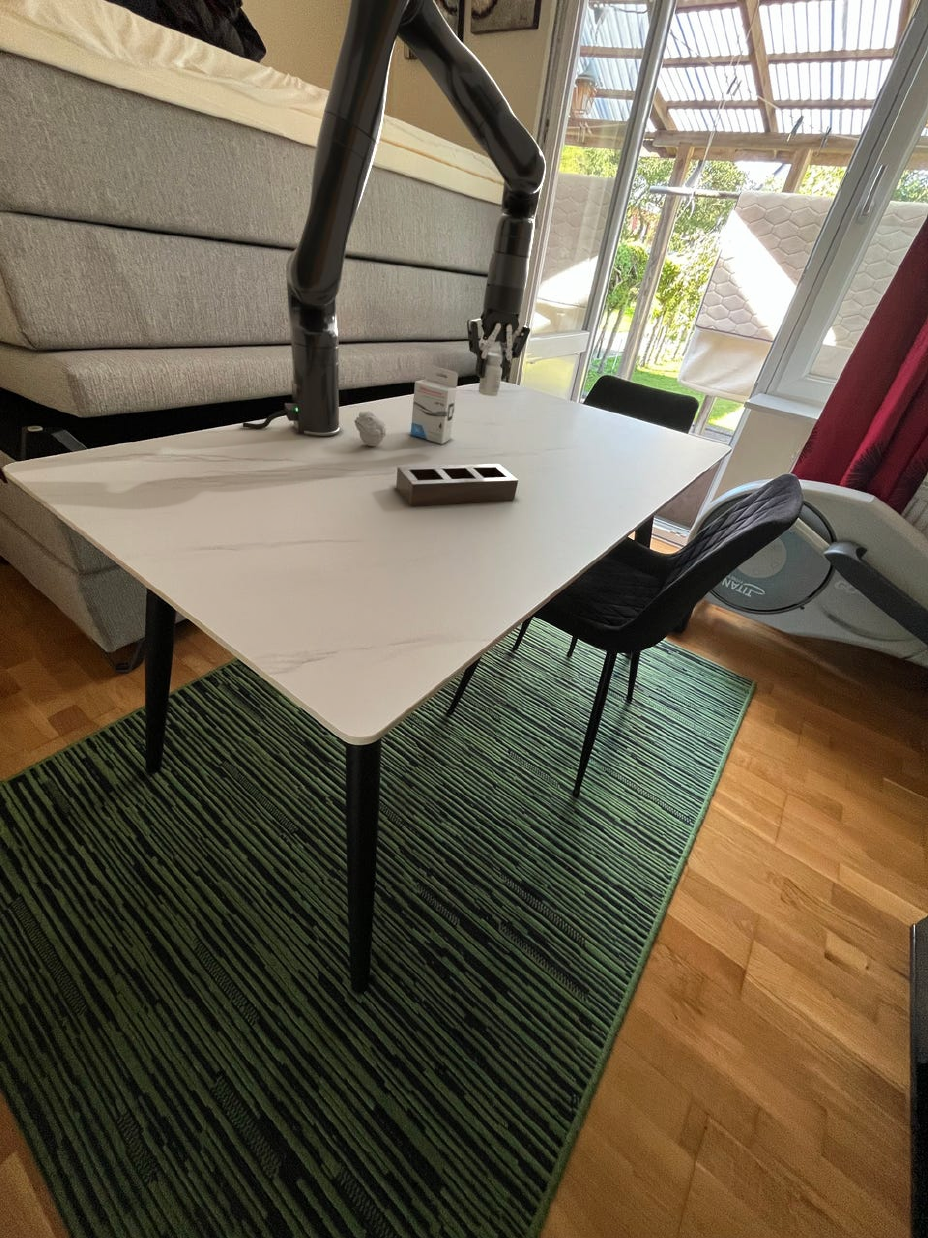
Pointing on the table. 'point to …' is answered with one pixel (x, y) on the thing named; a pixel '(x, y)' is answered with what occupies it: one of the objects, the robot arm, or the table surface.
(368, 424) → the white lumpy lump
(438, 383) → the ink box
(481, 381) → the pill bottle
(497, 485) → the holder
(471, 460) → the table surface
